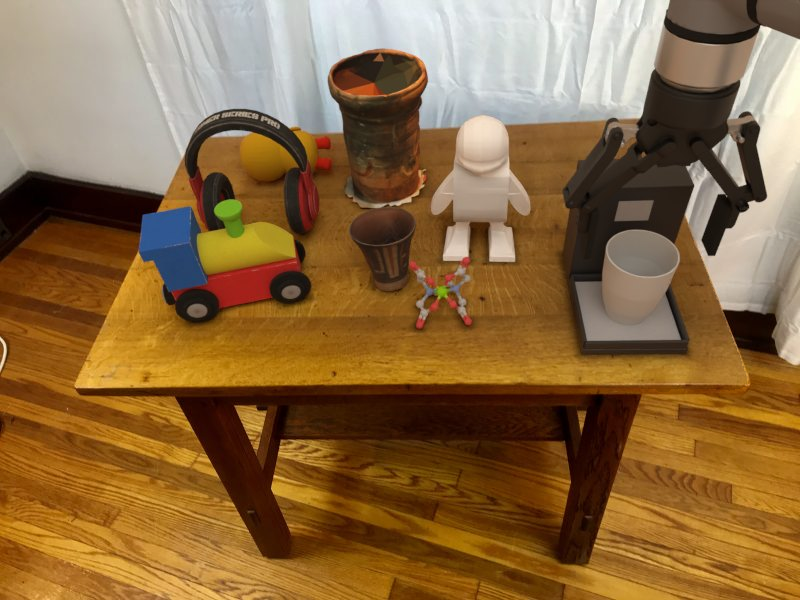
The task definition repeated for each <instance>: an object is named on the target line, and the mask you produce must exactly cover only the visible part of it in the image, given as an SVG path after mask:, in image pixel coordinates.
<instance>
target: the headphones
mask: <svg viewBox="0 0 800 600" xmlns="http://www.w3.org/2000/svg"><path fill="white" fill-rule="evenodd" d="M290 128H291V127H288V126H287V125H286V124H284V123H283V122H282V121H280V120H279V119H277V118H276V117H273V116H271V115H270V114H268V113H264V112H261V111H259V110H256V109H255V110H254V109H249V108H230V109H223V110H221V111H220V110H219V111H217V112H213V113H212V114H210V115H208V116H207V117H205V118H204V119H203V120H202V121H201V122H200V123H198V125H197V127H196V128H195V129H194V131H192V134H191V136H190V139H189V141H188V144H187V147H186V149H185V154H184V167H185V170H186V173H187V175H188V176H189V177H188V182H189V185H190V187H191V190H192V193H193V195H194V197H195V199H196V210H197V214H198V217H199V218H200V221H201V223H203V224H204V226H205V228H206V230H207V232H209V231H215V230H220V229H225V225H224V222H223V221H222V220H220V219H219V218H218V217H217V216H216V215H215V212H214V209H215V207H216V206H217V205H218V204H219V203H220V202H222V201H225V200H230V199H233V200H236V196H235V191H234V188H233V185H232V183H231V180H230V179H229V177H228V176H227V175H226V174H224V173H223V172H218V171H214V172H210V173H209V174H208V175H206V177H205V178H204V179H203V176H202V174H201V169H200V166H199V165H198V160H199V159H198V158H199V153H200V150H201V147H202V145H203V144H204V143H205V141H206V140H207V139H209V138H211V137H213V136H215V135H218V134H220V133H224V132H231V131H242V132H243V131H244V132H249V133H252V132H253V133H257V134H260V135H263V136H265V137H268V138H270V139H272V140H273V141H275V142H276V143H278V144H280V145H281V146H282V147H283V148H285V149H286V150H287V151H288V152H289V154H290V155H291V156H292V157H293V159H294V160H295V162H296V163H297V165H298V166H299V168H297V167H294V168H291V169H290V170H289V171H288V172H287V173H285V175H284V182H283V183H284V184H283V204H284V211H285V216H286V220H287V223H288V226H289V229H290V230H291V231H292V232H293V233H295V235H304V234H305V235H306V234H307V233H308V232H309V231H310V230H311V229H312V228H313V224H314V220H316V219H317V218H318V217H319V213H320V194H319V190H318V187H317V185H316V183H315V182H314V178H313V174H312V172H311V167H310V163H309V160H308V159H307V154H306V150H305V147H304V146H303V144H302V142H301V141H300V139H299V138H298V137H297V136H296V134H295V133H294V132H293V131H292V130H291V129H290Z"/></svg>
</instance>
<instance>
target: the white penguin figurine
mask: <svg viewBox="0 0 800 600" xmlns="http://www.w3.org/2000/svg"><path fill="white" fill-rule="evenodd" d="M509 155H510V137H509V133H508V131H507V128H506V126H505V125H504V123H503V122H502V121H500V120H499V119H497V118H495V117H493V116H491V115H490V116H489V115H485V114H481V115H477V116H473V117H471V118H469V119H467V120H466V121H464V122H463V124H462V125H461V126H460V128H459V130H458V132H457V134H456V142H455V156H454V158H453V169H452V170H451V171H450V173H449V174H448V175H447V176H446V177H445V178H444V180H442V182H441V183H440V184H439V186H438V188H437V189H436V190H435V192H434V194H433V196H432V198H431V202H430V212H431V214H432V215H434V216H437V215H440V214H442V213H443V212H444V211H445V210H446V209H447V208H448V207H449V205H450V204H451V203H452V221H453V222H454V223H455V224H453V225H451V226H450V225H448V226H447V228H446V233H445V240H444V247H443V253H442V261H443V262H445V261H446V262H461V261H462V259H463V258H464V257H469V258H470V243H471V226H470V224H471V223H489V225H490V226H488V229H487V232H488V233H487V235H488V262H492V263H494V262H496V263H497V262H498V263H515V262H516V252H515V251H516V250H515V241H514V233H513V228H512V226H506V225H505V223H507V220H508V207H509V203H510V205H512V207H513V208H514V209H515V211H516V212H517V213H519V215H521V216H529V215H530V214H531V210H532V209H531V208H532V207H531V200H530V196H529V194H528V193H527V191H526V189H525V188H524V186H523V184H522V183H521V182H520V180H519V179H518V178H517V177H516V175H515V174H514V173H513V172H512V170H511V169H510V156H509Z"/></svg>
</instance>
